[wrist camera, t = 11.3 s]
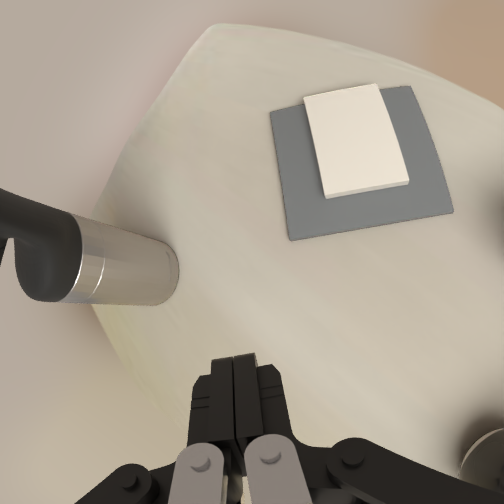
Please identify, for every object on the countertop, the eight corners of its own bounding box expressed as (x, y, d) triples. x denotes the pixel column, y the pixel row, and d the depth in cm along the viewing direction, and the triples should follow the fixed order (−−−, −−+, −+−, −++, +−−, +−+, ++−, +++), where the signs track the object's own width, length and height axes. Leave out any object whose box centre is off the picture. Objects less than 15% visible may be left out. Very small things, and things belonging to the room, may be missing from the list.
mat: (291, 241, 38) (289, 239, 37) (271, 115, 41) (269, 112, 41) (452, 213, 32) (454, 211, 31) (410, 89, 35) (410, 85, 34)
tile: (324, 195, 35) (303, 97, 38) (326, 199, 36) (305, 103, 39) (409, 180, 32) (376, 83, 35) (407, 185, 33) (376, 90, 36)
